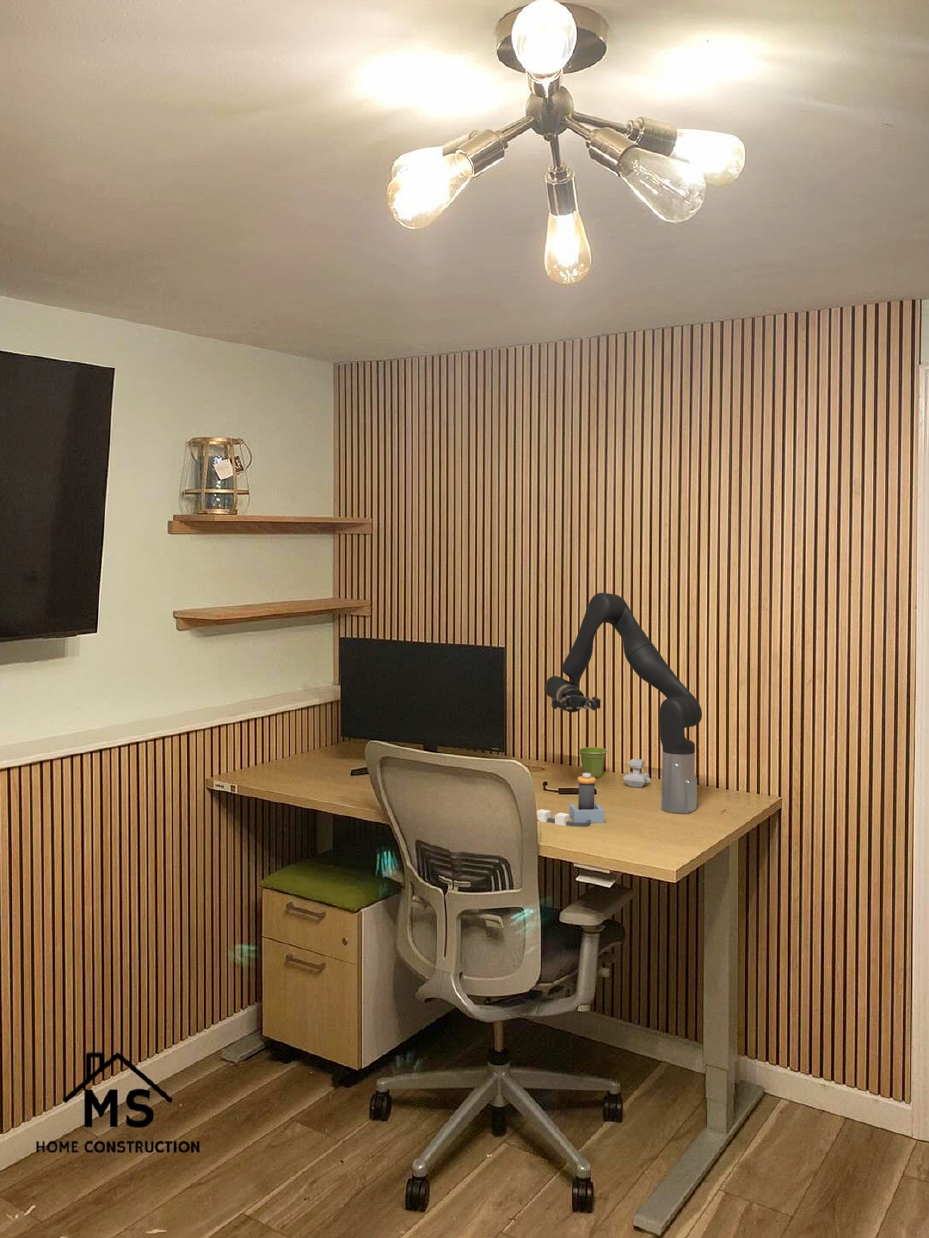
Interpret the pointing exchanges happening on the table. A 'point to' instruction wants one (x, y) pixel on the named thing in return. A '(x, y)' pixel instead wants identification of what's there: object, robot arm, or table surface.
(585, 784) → the grey and orange bottle
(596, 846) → the table surface
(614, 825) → the table surface
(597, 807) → the end holder
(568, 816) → the routed cable
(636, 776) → the stamp
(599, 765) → the plant pot
